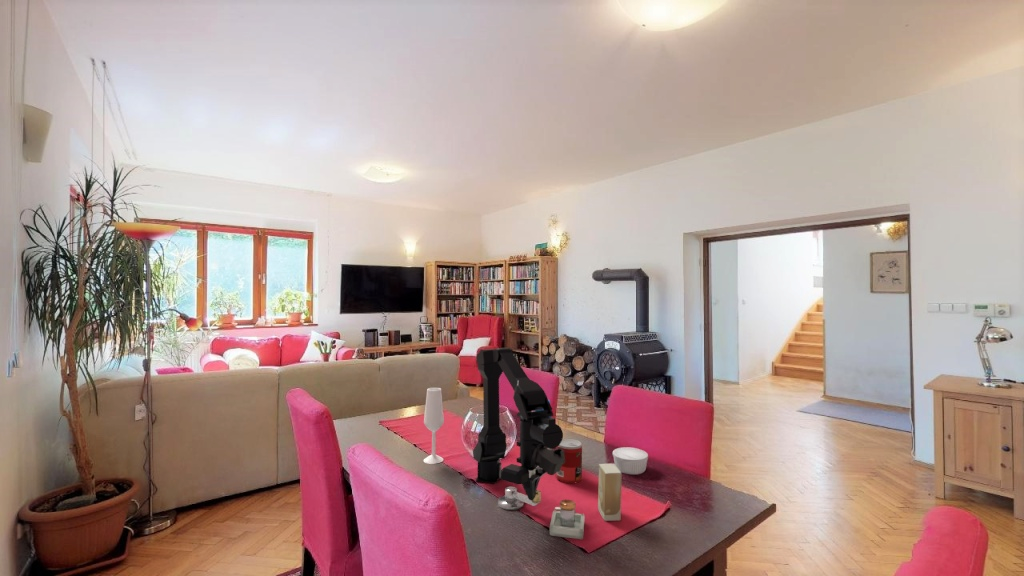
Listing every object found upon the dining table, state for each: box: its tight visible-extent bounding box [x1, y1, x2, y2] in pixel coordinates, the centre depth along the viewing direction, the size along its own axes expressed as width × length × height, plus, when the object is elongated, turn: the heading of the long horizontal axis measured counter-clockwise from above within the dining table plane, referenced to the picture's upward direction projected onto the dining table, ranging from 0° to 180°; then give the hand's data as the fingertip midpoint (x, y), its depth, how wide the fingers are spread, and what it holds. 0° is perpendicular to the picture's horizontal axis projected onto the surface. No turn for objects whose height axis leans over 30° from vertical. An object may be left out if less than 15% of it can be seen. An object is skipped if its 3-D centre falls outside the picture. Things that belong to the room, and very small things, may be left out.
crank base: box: [497, 495, 525, 511], centre depth 118 cm, size 7×7×1 cm
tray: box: [549, 510, 586, 540], centre depth 106 cm, size 8×8×2 cm
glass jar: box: [559, 499, 577, 528], centre depth 106 cm, size 4×4×6 cm
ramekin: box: [612, 446, 649, 476], centre depth 143 cm, size 11×11×5 cm
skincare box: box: [597, 463, 623, 522], centre depth 113 cm, size 6×4×12 cm
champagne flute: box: [423, 387, 445, 465], centre depth 148 cm, size 7×7×24 cm
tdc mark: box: [554, 506, 561, 511], centre depth 115 cm, size 3×1×1 cm, turn 78°
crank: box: [504, 486, 542, 507], centre depth 116 cm, size 11×3×5 cm, turn 50°
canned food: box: [555, 438, 583, 484], centre depth 135 cm, size 8×8×11 cm
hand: (531, 499), depth 111 cm, fingers closed
